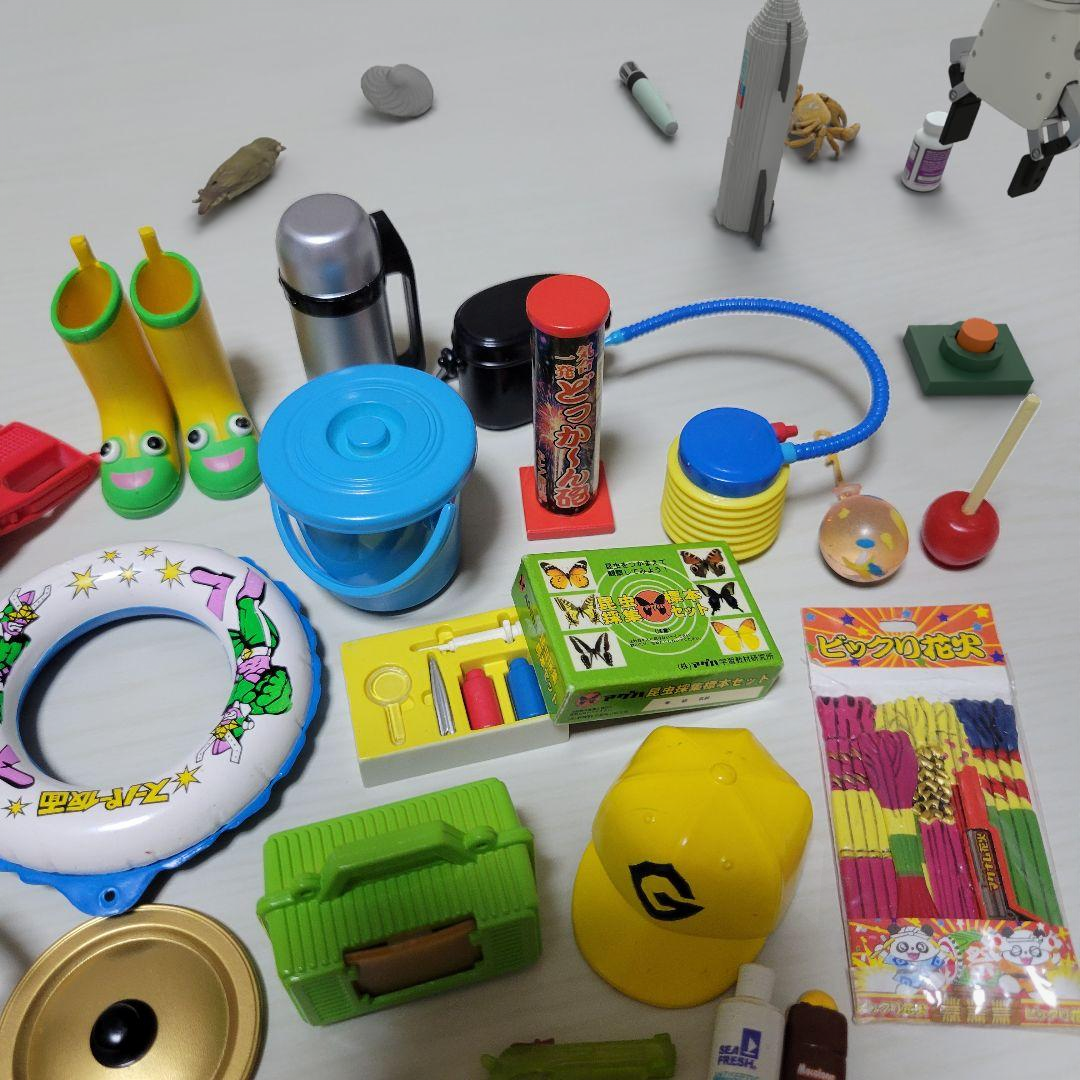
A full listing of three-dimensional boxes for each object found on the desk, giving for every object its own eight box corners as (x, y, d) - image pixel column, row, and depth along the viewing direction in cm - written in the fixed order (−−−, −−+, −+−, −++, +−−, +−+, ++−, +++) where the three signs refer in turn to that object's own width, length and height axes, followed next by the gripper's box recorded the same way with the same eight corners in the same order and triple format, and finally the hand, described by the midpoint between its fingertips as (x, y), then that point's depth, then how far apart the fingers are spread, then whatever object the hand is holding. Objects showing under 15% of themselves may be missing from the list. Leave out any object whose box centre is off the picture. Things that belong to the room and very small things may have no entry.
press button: (985, 331, 112) (992, 317, 110) (996, 354, 109) (1003, 340, 108) (952, 331, 112) (958, 318, 110) (961, 354, 109) (968, 341, 108)
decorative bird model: (300, 160, 142) (293, 128, 138) (211, 229, 131) (201, 197, 127) (273, 151, 143) (266, 119, 139) (183, 219, 133) (172, 187, 129)
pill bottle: (945, 181, 137) (968, 117, 130) (927, 197, 135) (950, 132, 127) (911, 167, 139) (932, 104, 132) (893, 183, 137) (914, 119, 129)
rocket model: (783, 244, 128) (837, 11, 104) (733, 250, 127) (776, 17, 104) (750, 186, 137) (793, -41, 113) (702, 192, 136) (735, -36, 112)
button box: (999, 337, 116) (1012, 311, 113) (1026, 394, 110) (1041, 368, 107) (902, 339, 116) (912, 313, 113) (924, 396, 110) (935, 370, 107)
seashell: (356, 96, 153) (366, 118, 146) (356, 59, 149) (365, 79, 142) (427, 97, 156) (440, 119, 149) (428, 61, 152) (441, 81, 146)
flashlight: (692, 126, 144) (645, 65, 155) (670, 117, 141) (624, 55, 153) (680, 146, 146) (635, 83, 157) (658, 137, 143) (614, 74, 155)
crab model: (874, 156, 142) (885, 121, 137) (796, 169, 139) (804, 134, 135) (827, 104, 151) (836, 70, 146) (753, 116, 148) (760, 81, 144)
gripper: (1183, 6, 73) (1082, 204, 86) (1026, -75, 82) (957, 114, 96) (1108, 26, 71) (1017, 225, 84) (957, -61, 80) (897, 131, 94)
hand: (985, 166), depth 90 cm, fingers open, 9 cm apart
